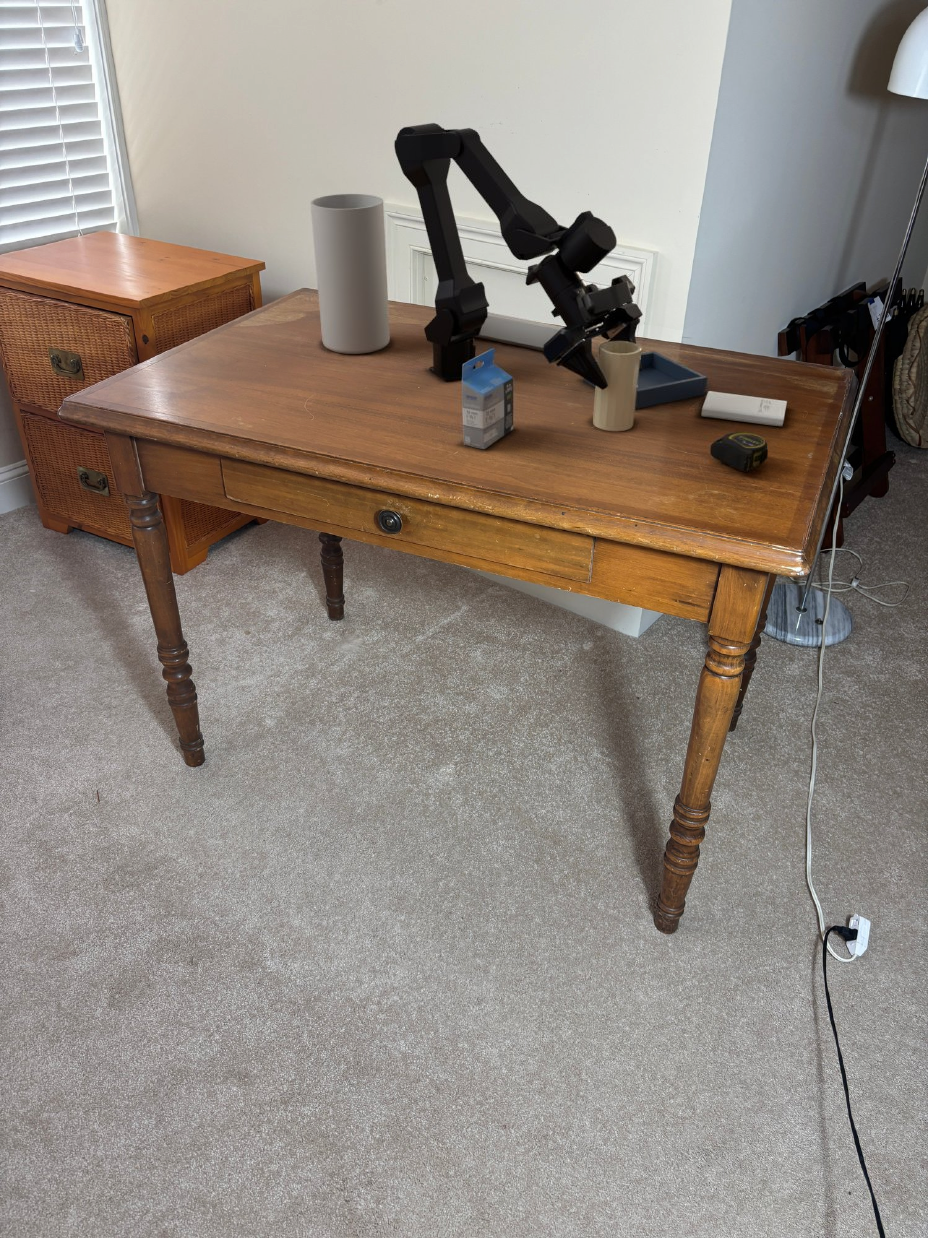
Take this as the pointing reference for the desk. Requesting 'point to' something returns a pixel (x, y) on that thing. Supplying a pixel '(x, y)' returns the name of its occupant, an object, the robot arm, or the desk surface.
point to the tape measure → (740, 450)
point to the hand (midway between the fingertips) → (623, 379)
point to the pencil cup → (617, 385)
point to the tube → (517, 331)
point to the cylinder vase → (351, 272)
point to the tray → (665, 381)
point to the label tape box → (486, 401)
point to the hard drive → (744, 408)
